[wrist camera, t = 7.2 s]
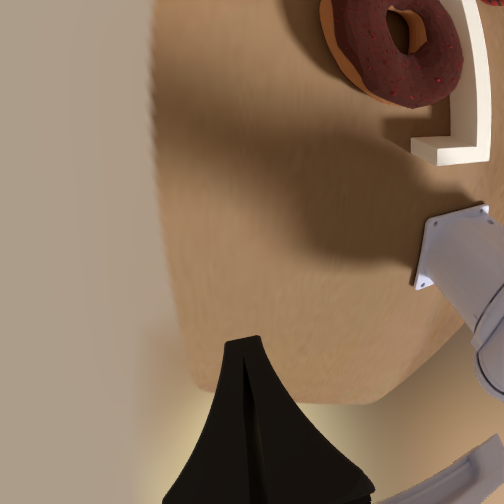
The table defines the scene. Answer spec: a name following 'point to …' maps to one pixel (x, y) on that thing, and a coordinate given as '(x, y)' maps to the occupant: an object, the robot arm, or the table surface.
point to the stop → (464, 97)
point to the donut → (394, 49)
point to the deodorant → (494, 2)
